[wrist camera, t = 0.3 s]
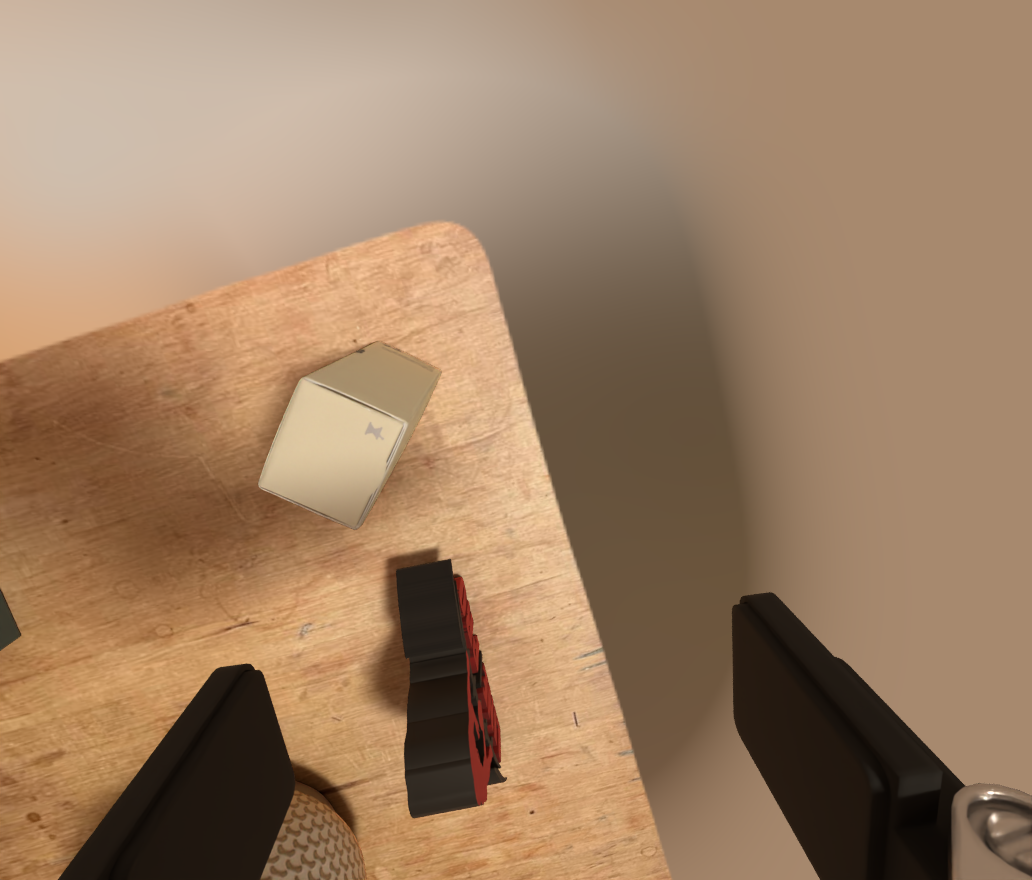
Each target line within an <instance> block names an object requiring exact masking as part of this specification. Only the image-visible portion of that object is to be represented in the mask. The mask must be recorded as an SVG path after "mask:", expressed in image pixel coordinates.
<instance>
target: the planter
mask: <svg viewBox="0 0 1032 880" xmlns="http://www.w3.org/2000/svg"><path fill="white" fill-rule="evenodd" d="M260 880H367V877H366V869H365V864H364V859H363V854H362V851H361V849H360V846H359V844H358V842H357V840H356V838H355V836H354V834H353V832H352V831H351V829H350V828H349V826H348V825H347V824H346V823H345V821H344V820H343V819H342V818H341V817H340V816H339V815H338V814H337V813H336V812H335V811H334V808H333V807H332V805H331V804H330V803H329V801H328V800H327V799H326V798H325V797H324V796H323V795H322V794H321V793H319V792H318V791H317V790H315V789H313V788H312V787H310V786H308V785H305V784H303V783H300V782H296V781H295V791H294V795H293V799H292V801H291V804H290V806H289V809H288V811H287V814H286V816H285V819H284V821H283V824H282V826H281V829H280V831H279V834H278V836H277V839H276V841H275V844H274V846H273V849H272V851H271V854H270V856H269V859H268V861H267V864H266V866H265V869H264V871H263V874H262V876H261V879H260Z"/></svg>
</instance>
